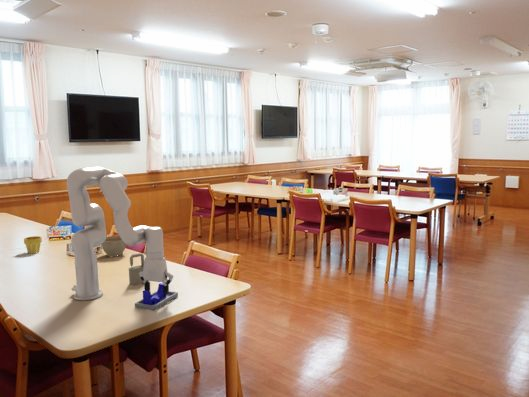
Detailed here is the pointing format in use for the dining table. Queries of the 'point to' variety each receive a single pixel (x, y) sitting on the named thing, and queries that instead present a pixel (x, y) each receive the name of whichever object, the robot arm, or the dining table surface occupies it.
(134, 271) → the padlock
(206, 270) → the dining table surface
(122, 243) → the planter bowl
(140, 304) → the grey rectangular tray
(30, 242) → the plant pot
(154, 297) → the cable clip
